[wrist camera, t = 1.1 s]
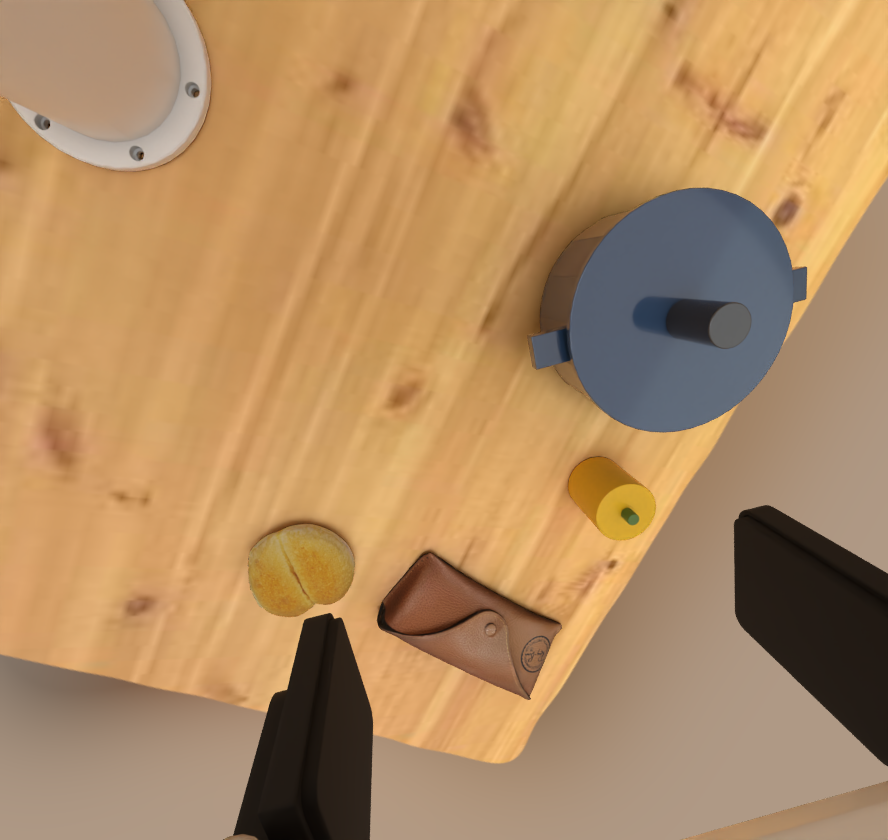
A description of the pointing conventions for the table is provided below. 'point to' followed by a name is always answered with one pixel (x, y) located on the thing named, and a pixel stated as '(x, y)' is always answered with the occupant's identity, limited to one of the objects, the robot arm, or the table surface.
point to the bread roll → (299, 569)
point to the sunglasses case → (468, 625)
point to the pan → (557, 293)
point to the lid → (680, 309)
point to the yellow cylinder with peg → (611, 498)
